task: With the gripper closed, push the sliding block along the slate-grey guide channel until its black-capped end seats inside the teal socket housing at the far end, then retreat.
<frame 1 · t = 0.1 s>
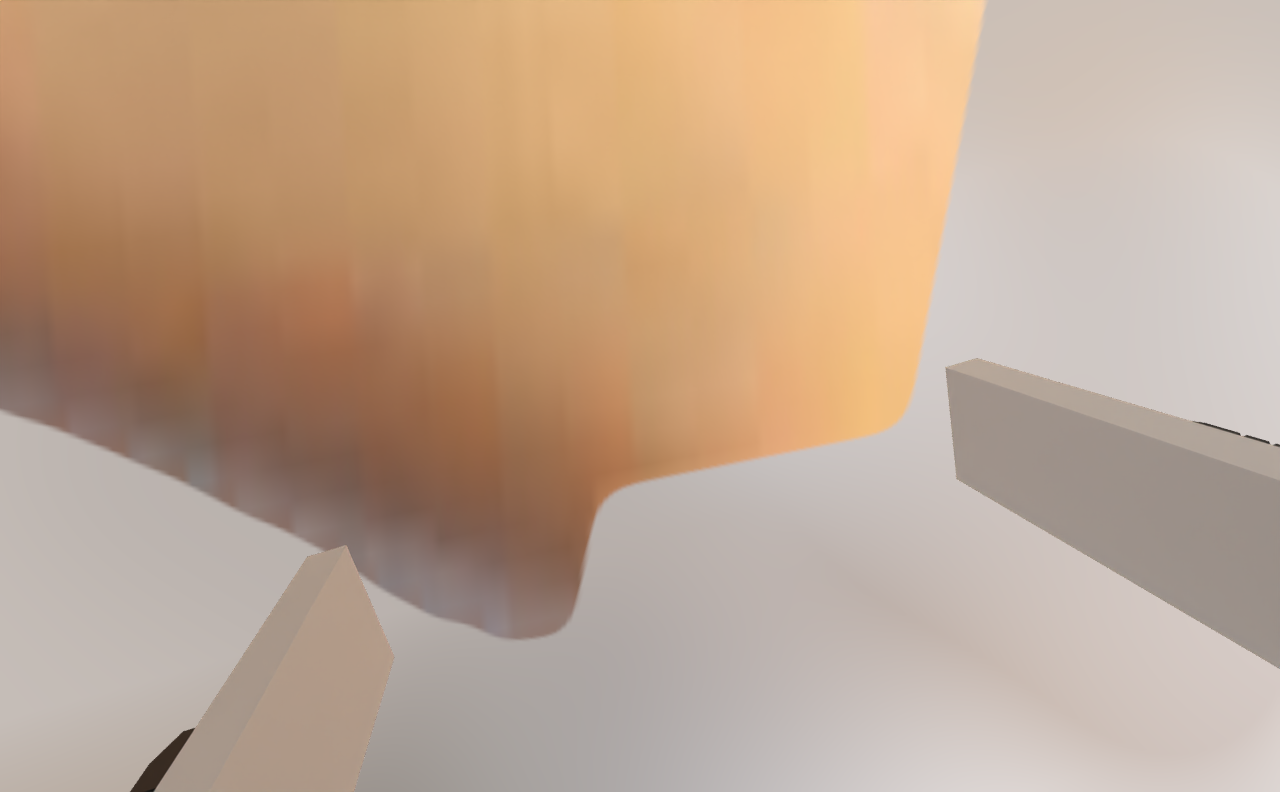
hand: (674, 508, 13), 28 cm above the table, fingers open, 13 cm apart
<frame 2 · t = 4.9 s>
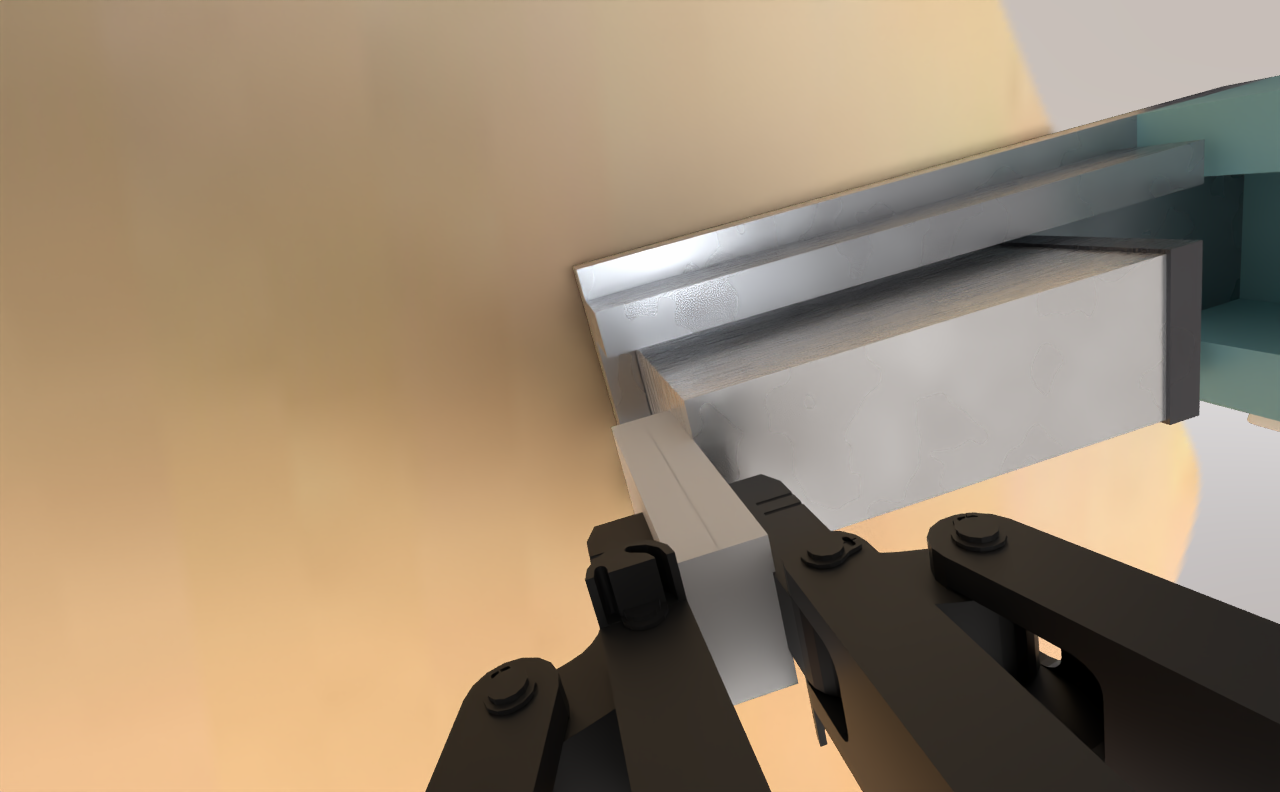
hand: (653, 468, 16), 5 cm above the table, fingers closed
guide channel: (932, 305, 22), on the table
sliding block: (887, 374, 17), point 5 cm above the table, slide at 0.0 cm, touching gripper
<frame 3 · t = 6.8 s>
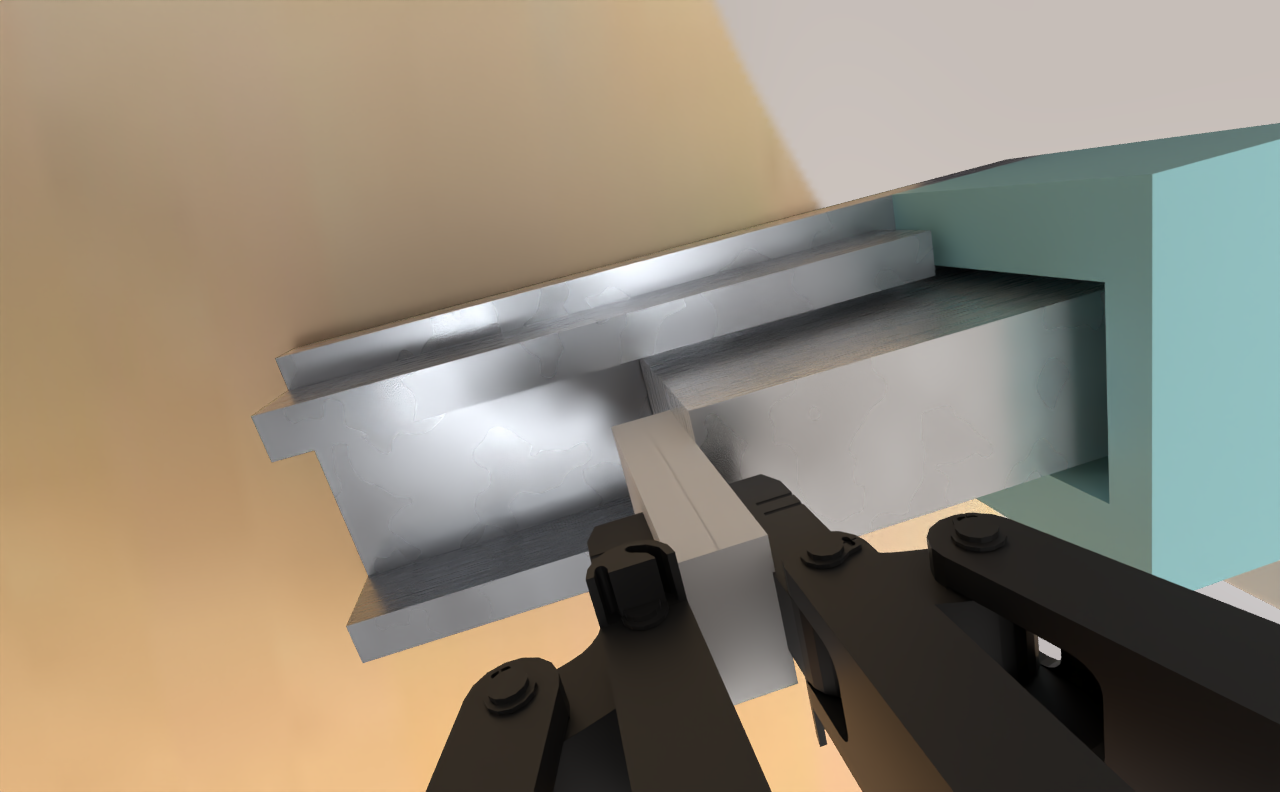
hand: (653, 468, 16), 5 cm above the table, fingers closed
socket housing: (1088, 341, 16), point 6 cm above the table
milk carton: (1159, 427, 25), on the table
guide channel: (701, 384, 21), on the table
sliding block: (891, 385, 17), point 5 cm above the table, slide at 8.5 cm, touching gripper
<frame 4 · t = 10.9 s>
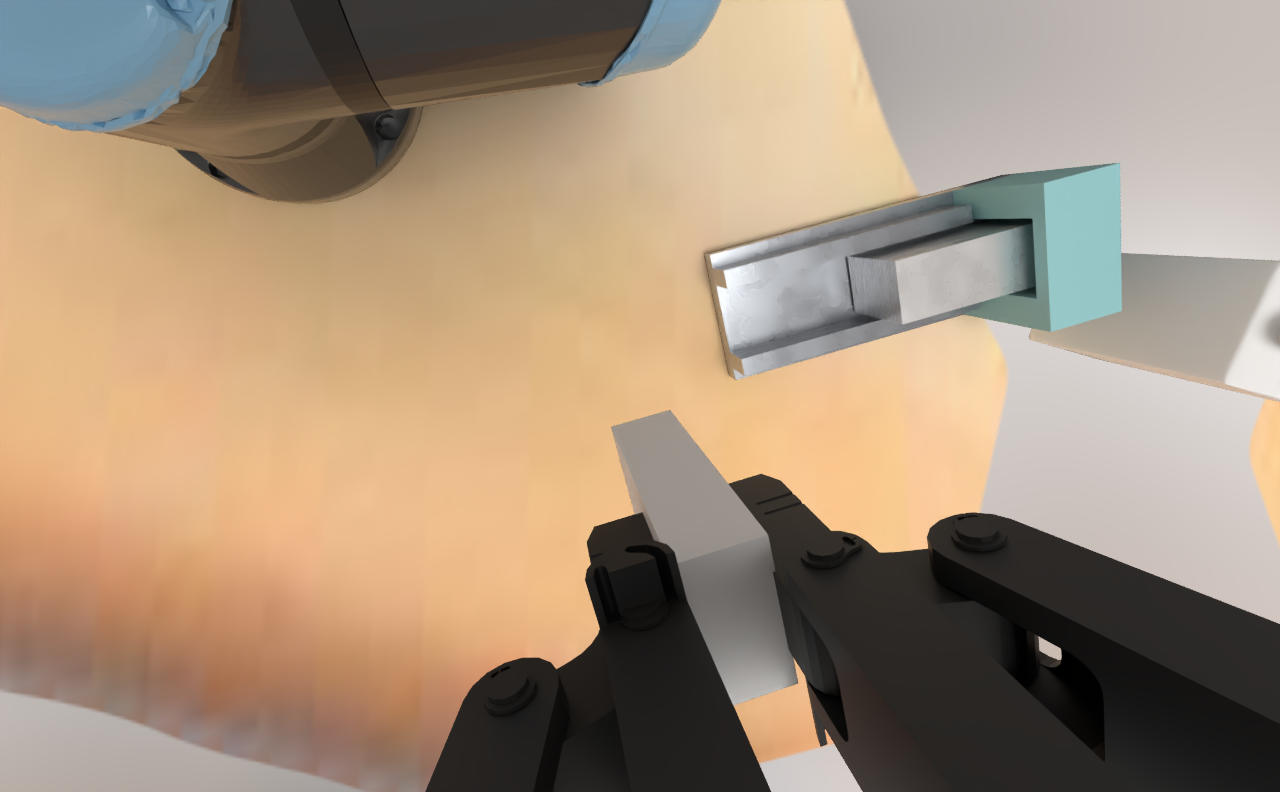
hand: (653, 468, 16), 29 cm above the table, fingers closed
socket housing: (1032, 247, 42), point 6 cm above the table
milk carton: (1077, 305, 51), on the table
guide channel: (864, 275, 47), on the table
sliding block: (955, 265, 43), point 5 cm above the table, slide at 8.5 cm
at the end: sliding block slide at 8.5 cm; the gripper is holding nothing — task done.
